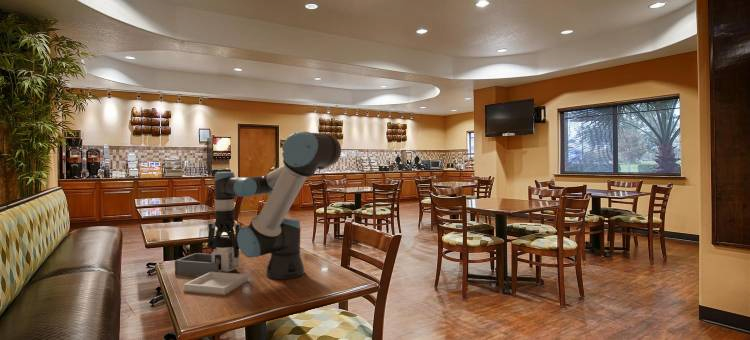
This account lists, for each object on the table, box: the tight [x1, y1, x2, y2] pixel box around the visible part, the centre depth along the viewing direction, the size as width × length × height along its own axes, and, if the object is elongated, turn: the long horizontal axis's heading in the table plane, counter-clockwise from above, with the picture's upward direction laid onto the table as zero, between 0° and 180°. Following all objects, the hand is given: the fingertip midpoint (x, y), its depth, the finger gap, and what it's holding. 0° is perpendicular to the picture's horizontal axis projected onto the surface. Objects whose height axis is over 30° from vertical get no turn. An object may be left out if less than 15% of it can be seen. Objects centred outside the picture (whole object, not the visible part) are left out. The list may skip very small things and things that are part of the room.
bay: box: [174, 252, 220, 277], centre depth 165 cm, size 19×13×6 cm
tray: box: [183, 271, 249, 296], centre depth 146 cm, size 16×16×3 cm
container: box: [211, 236, 240, 273], centre depth 162 cm, size 8×8×13 cm
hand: (225, 264), depth 163 cm, fingers closed on container, 8 cm apart
